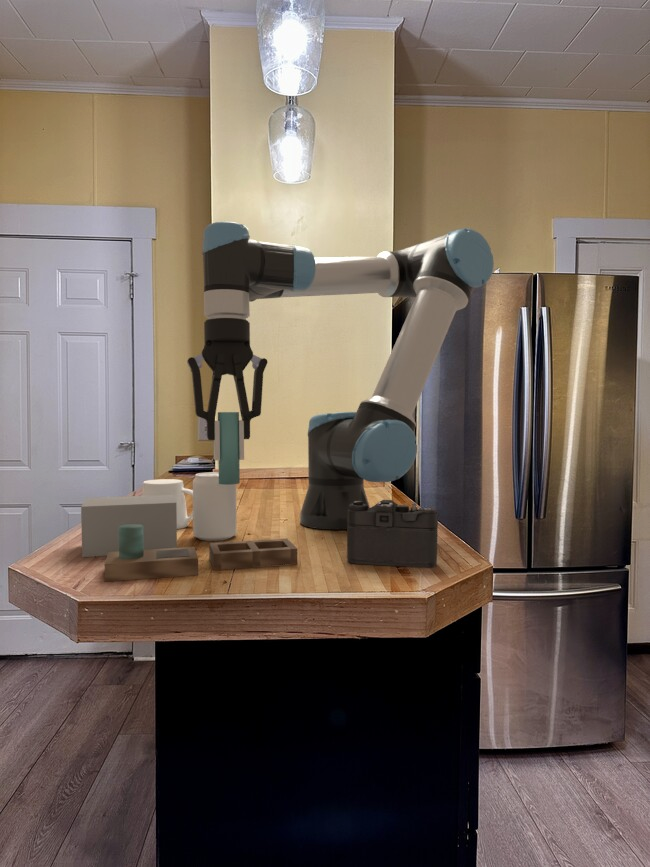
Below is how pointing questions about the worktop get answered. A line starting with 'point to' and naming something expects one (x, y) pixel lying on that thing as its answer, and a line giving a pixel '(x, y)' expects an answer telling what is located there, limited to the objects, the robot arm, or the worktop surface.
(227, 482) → the pin
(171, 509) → the cover
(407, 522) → the camera
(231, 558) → the board
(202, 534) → the beverage can
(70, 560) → the worktop surface
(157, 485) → the mug
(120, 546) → the board
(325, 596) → the worktop surface
